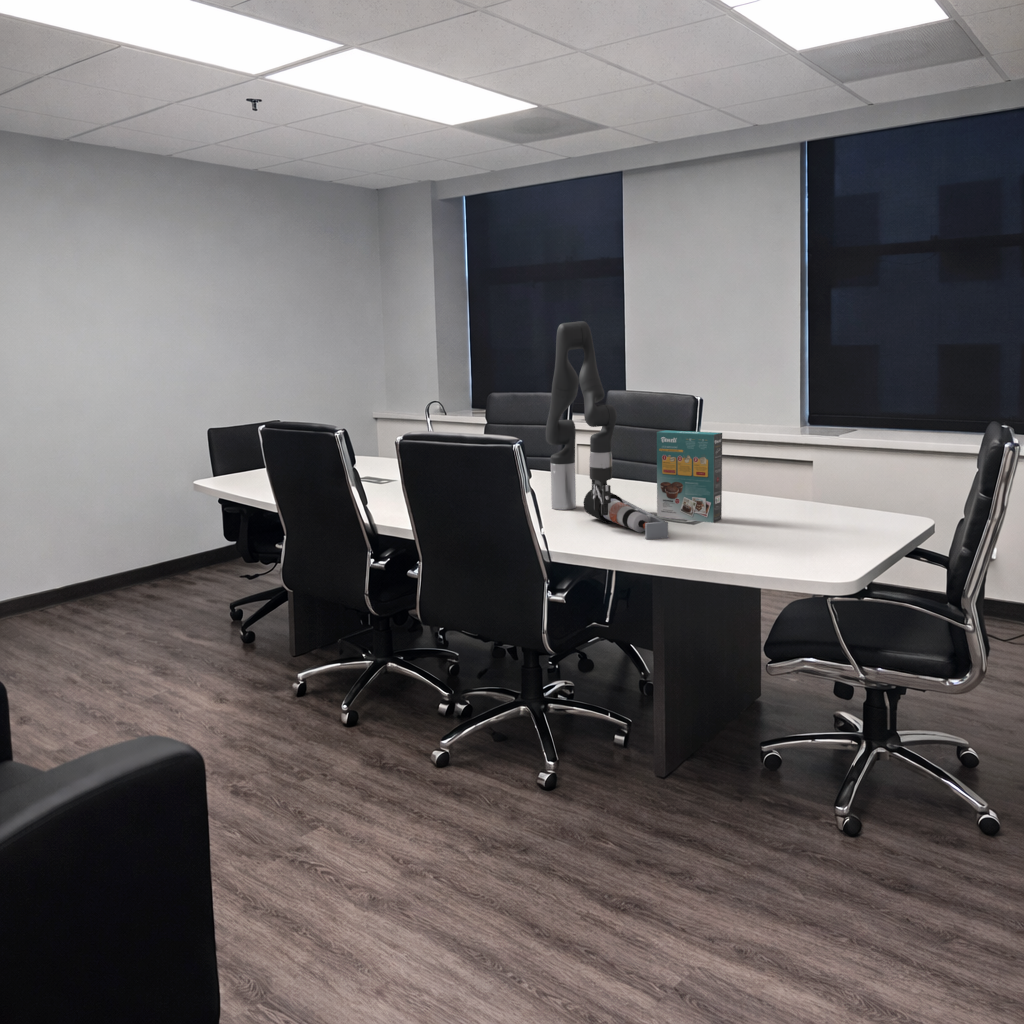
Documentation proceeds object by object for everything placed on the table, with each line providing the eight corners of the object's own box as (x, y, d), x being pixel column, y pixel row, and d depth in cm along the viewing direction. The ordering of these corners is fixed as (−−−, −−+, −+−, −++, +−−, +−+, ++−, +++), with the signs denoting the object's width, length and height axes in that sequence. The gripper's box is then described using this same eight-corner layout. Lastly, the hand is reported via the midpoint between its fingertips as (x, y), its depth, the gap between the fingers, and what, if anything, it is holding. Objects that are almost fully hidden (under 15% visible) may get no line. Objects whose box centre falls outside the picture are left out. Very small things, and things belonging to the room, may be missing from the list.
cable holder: (601, 512, 338) (601, 498, 337) (619, 510, 340) (619, 497, 339) (646, 539, 291) (646, 523, 290) (667, 537, 292) (667, 522, 291)
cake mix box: (721, 519, 317) (722, 432, 312) (713, 522, 313) (713, 434, 307) (665, 513, 331) (665, 430, 326) (657, 516, 327) (656, 432, 321)
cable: (643, 548, 297) (632, 523, 292) (589, 520, 326) (579, 497, 322) (667, 532, 299) (657, 506, 295) (612, 505, 329) (602, 482, 324)
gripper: (584, 462, 314) (584, 509, 317) (596, 468, 300) (596, 517, 303) (605, 461, 315) (605, 508, 318) (618, 467, 301) (618, 516, 305)
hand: (601, 512), depth 311 cm, fingers open, 8 cm apart
